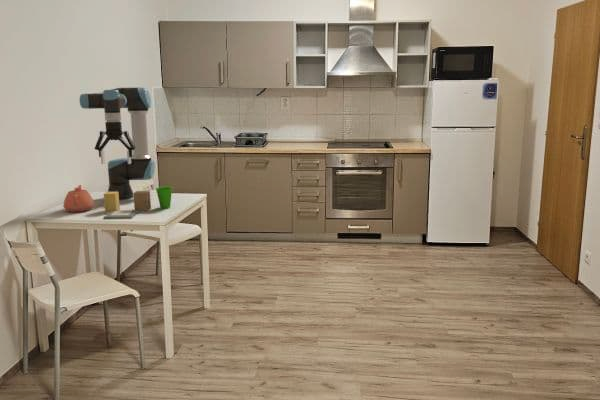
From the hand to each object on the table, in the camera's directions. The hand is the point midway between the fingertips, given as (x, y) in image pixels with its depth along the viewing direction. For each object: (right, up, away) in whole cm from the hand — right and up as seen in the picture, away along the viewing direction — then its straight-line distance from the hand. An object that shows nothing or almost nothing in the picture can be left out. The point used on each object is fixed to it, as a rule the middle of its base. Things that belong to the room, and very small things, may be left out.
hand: (116, 163), depth 277 cm
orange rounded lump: (-27, -24, +21) cm, 42 cm away
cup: (+19, -23, +24) cm, 38 cm away
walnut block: (+8, -24, +19) cm, 32 cm away
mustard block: (-8, -24, +18) cm, 31 cm away
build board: (0, -26, +7) cm, 27 cm away
